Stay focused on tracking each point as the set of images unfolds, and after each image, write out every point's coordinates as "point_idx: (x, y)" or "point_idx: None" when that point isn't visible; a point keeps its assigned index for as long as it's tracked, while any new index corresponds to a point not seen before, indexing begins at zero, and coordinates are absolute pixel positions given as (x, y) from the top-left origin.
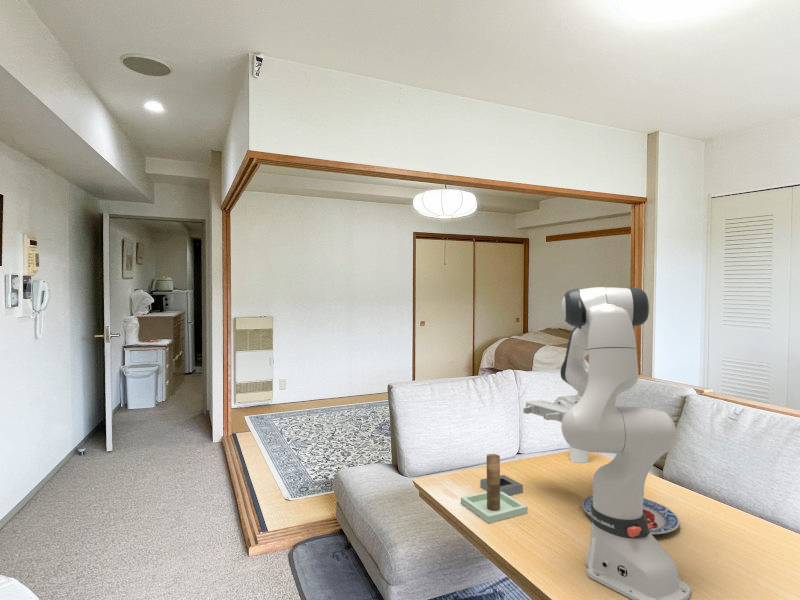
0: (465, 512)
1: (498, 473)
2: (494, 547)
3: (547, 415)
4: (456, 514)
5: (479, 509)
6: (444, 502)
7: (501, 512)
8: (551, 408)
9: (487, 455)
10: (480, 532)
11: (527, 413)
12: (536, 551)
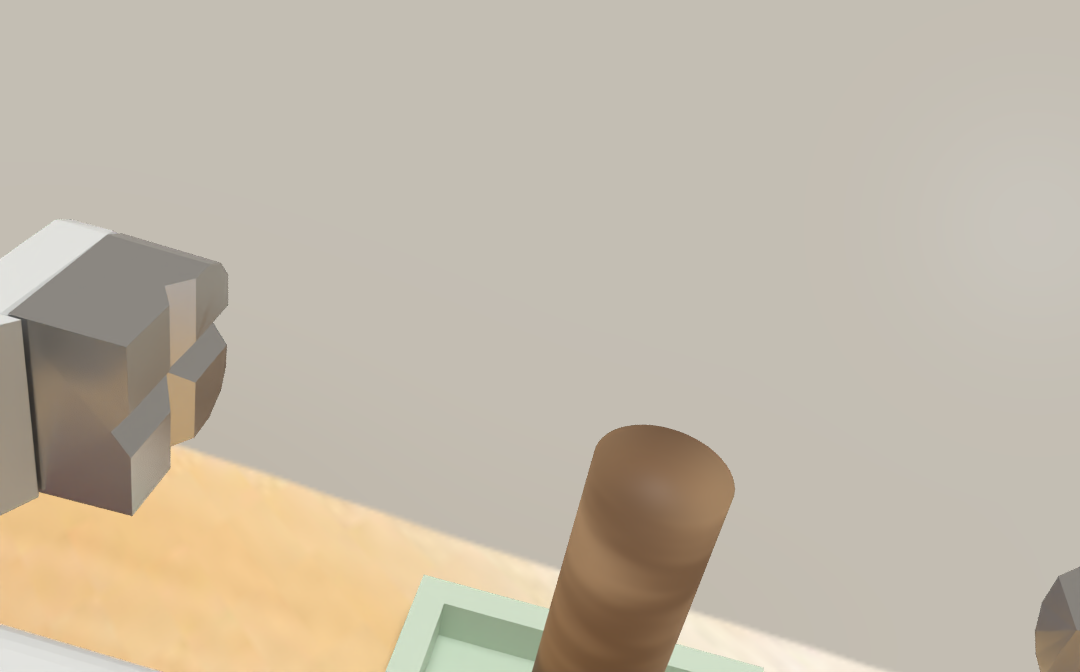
0: None
1: (558, 583)
2: (248, 470)
3: (69, 243)
4: None
5: (535, 610)
6: (833, 666)
7: (396, 669)
8: (104, 667)
9: (711, 457)
10: (398, 532)
11: (1047, 667)
12: (16, 558)
